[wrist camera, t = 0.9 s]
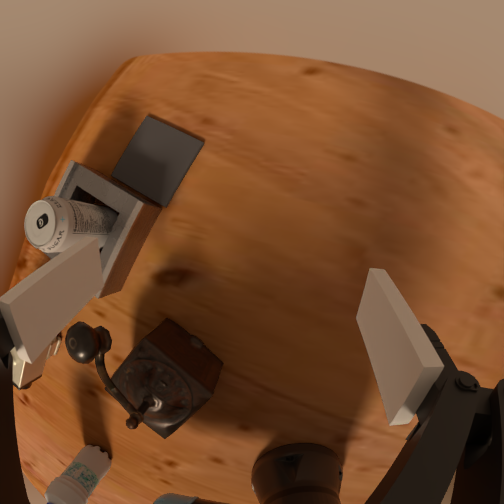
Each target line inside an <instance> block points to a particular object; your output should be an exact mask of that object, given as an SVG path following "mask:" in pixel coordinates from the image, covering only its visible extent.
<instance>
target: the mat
mask: <svg viewBox="0 0 504 504" xmlns="http://www.w3.org/2000/svg"><path fill="white" fill-rule="evenodd" d="M203 145H204V143H203V142H201V141H199V140H197V139H195V138H193V137H191V136H189V135H187V134H185V133H183V132H181V131H179V130H177V129H175V128H172V127H170V126H168V125H166V124H164V123H162V122H160V121H157V120H155V119H153V118H151V117H149V116H146V117H145V119H144V121H143V122H142V124H141V125H140V127H139V128H138V130H137V132H136V133H135V135H134V136H133V138H132V140H131V141H130V143H129V145H128V146H127V148H126V150H125V151H124V153H123V155H122V157H121V158H120V160H119V162H118V164H117V165H116V167H115V169H114V171H113V173H112V174H111V176H113V177H115V178H116V179H118V180H120V181H121V182H123V183H125V184H126V185H128V186H130V187H132V188H133V189H135V190H137V191H138V192H140V193H142V194H144V195H145V196H147V197H149V198H150V199H152V200H154V201H156V202H157V203H159V204H161V205H162V206H164V207H166V208H167V206H168V204H169V202H170V201H171V199H172V197H173V195H174V194H175V192H176V190H177V188H178V187H179V185H180V183H181V181H182V180H183V178H184V176H185V175H186V173H187V171H188V170H189V168H190V166H191V165H192V163H193V161H194V160H195V158H196V156H197V155H198V153H199V152H200V150H201V148H202V147H203Z"/></svg>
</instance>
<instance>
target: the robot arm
mask: <svg viewBox="0 0 504 504" xmlns="http://www.w3.org/2000/svg"><path fill="white" fill-rule="evenodd" d="M103 287H104V282H103V275H102V268H101V260H100V252H99V243H98V238H97V237H88V236H86V237H84V238H83V239H81V240H80V241H78V242H77V243H75V244H74V245H72V246H71V247H69V248H68V249H66V250H65V251H63V252H62V253H60V254H59V255H57V256H56V257H54V258H53V259H51V260H50V261H48V262H47V263H46V264H44V265H43V266H41V267H40V268H39V269H37V270H36V271H34V272H33V273H32V274H30V275H29V276H28V277H26V278H25V279H23V280H22V281H21V282H19V283H18V284H17V285H16V286H14V287H13V288H12V289H10V290H9V291H8V292H6V293H5V294H4V295H3V296H1V297H0V504H30V502H29V500H28V497H27V493H26V488H25V484H24V479H23V475H22V469H21V464H20V458H19V452H18V445H17V437H16V428H15V417H14V403H13V357H12V354H11V352H10V351H11V350H12V349H13V348H14V347H15V349H16V351H17V354H18V356H19V358H20V359H22V360H24V361H26V362H28V363H31V364H32V363H33V362H34V361H35V360H36V358H37V357H38V356H39V355H40V354H41V353H42V352H43V350H44V349H45V348H46V347H47V346H48V345H49V344H50V343H51V341H52V340H53V339H54V338H55V337H56V336H57V335H58V334H59V333H60V331H61V330H62V329H63V328H64V327H65V326H66V325H67V324H68V323H69V322H70V321H71V320H72V319H73V317H74V316H75V315H76V314H77V313H78V312H79V311H80V310H81V309H82V308H83V307H84V306H85V305H86V304H87V303H88V302H89V301H90V300H91V299H92V298H93V297H94V296H95V295H96V294H97V293H98V292H99V291H100V290H101V289H102V288H103ZM356 320H357V323H358V326H359V328H360V331H361V334H362V337H363V340H364V343H365V346H366V349H367V352H368V355H369V358H370V362H371V365H372V368H373V371H374V374H375V377H376V381H377V384H378V387H379V391H380V394H381V397H382V401H383V404H384V408H385V412H386V415H387V419H388V422H389V425H400V424H409V422H410V421H411V419H412V418H413V416H414V415H415V413H416V414H417V417H418V420H419V422H418V423H417V425H416V426H415V427H414V429H413V430H412V431H411V433H410V434H409V435H408V437H407V438H406V440H407V442H406V443H405V445H404V447H403V448H402V450H401V452H400V453H399V455H398V456H397V458H396V460H395V461H394V463H393V464H392V466H391V467H390V469H389V470H388V472H387V473H386V475H385V476H384V478H383V479H382V481H381V482H380V483H379V485H378V486H377V488H376V489H375V490H374V492H373V493H372V494H371V496H370V497H369V498H368V500H367V501H366V502H365V504H441V502H442V500H443V498H444V495H445V493H446V491H447V489H448V487H449V485H450V482H451V480H452V478H453V475H454V473H455V470H456V476H455V482H454V488H453V494H452V499H451V503H450V504H504V379H502V380H500V381H499V383H498V384H497V386H496V387H495V388H494V389H489V388H483V387H480V385H479V383H478V381H477V380H476V379H475V377H474V376H472V375H471V374H469V373H467V372H464V371H458V369H457V368H456V366H455V364H454V363H453V361H452V359H451V357H450V356H449V354H448V352H447V351H446V349H444V346H443V344H442V343H441V342H440V339H439V338H438V336H437V334H436V333H435V332H434V331H433V330H432V329H431V328H430V327H429V326H427V325H426V324H420V323H419V322H418V320H417V318H416V317H415V315H414V314H413V312H412V310H411V309H410V307H409V306H408V304H407V302H406V301H405V299H404V298H403V296H402V295H401V293H400V292H399V290H398V289H397V287H396V286H395V284H394V283H393V281H392V280H391V278H390V277H389V275H388V274H387V272H386V271H385V269H377V268H370V269H369V273H368V276H367V280H366V284H365V288H364V291H363V295H362V299H361V302H360V306H359V309H358V312H357V316H356ZM456 468H457V469H456ZM342 476H343V471H342V466H341V463H340V460H339V458H338V456H337V455H336V454H335V453H334V452H333V451H331V450H330V449H328V448H326V447H324V446H321V445H316V444H309V443H299V444H290V445H286V446H282V447H279V448H276V449H274V450H272V451H270V452H268V453H266V454H265V455H263V456H262V457H261V458H260V459H259V460H258V461H257V462H256V464H255V465H254V467H253V470H252V478H251V484H252V488H253V491H254V492H255V494H256V496H257V498H258V501H259V503H260V504H341V503H340V499H339V493H340V488H341V481H342ZM153 504H228V503H222V502H216V501H210V500H205V499H200V498H199V497H196V496H195V497H189V496H184V495H179V494H174V493H168V494H164V495H162V496H160V497H159V498H158V499H156V501H155V502H154V503H153Z"/></svg>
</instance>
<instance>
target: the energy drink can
mask: <svg viewBox="0 0 504 504" xmlns="http://www.w3.org/2000/svg"><path fill="white" fill-rule="evenodd" d="M117 218H118V216H117V214H116V213H115V212H114V211H113V210H112V209H110V208H108V207H103V206H98V205H94V204H89V203H84V202H79V201H74V200H69V199H65V198H60V197H55V196H48V197H46V198H44V199H42V200H39V201H36V202H35V203H33V204H32V205H31V206H30V208H29V210H28V212H27V214H26V217H25V233H26V237H27V239H28V241H29V242H30V243H31V244H32V245H33V246H35V247H38V248H39V249H40V250H42V251H43V252H46V253H53V252H63V251H65V250H66V249H68V248H69V247H71V246H72V245H74V244H75V243H77V242H78V241H80V240H81V239H83V238H84V237H86V236H88V237H97V238H98V243H99V250H102V249H103V247H104V245H105V243H106V240H107V238H108V236H109V234H110V232H111V230H112V228H113V226H114V224H115V222H116V220H117Z"/></svg>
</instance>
